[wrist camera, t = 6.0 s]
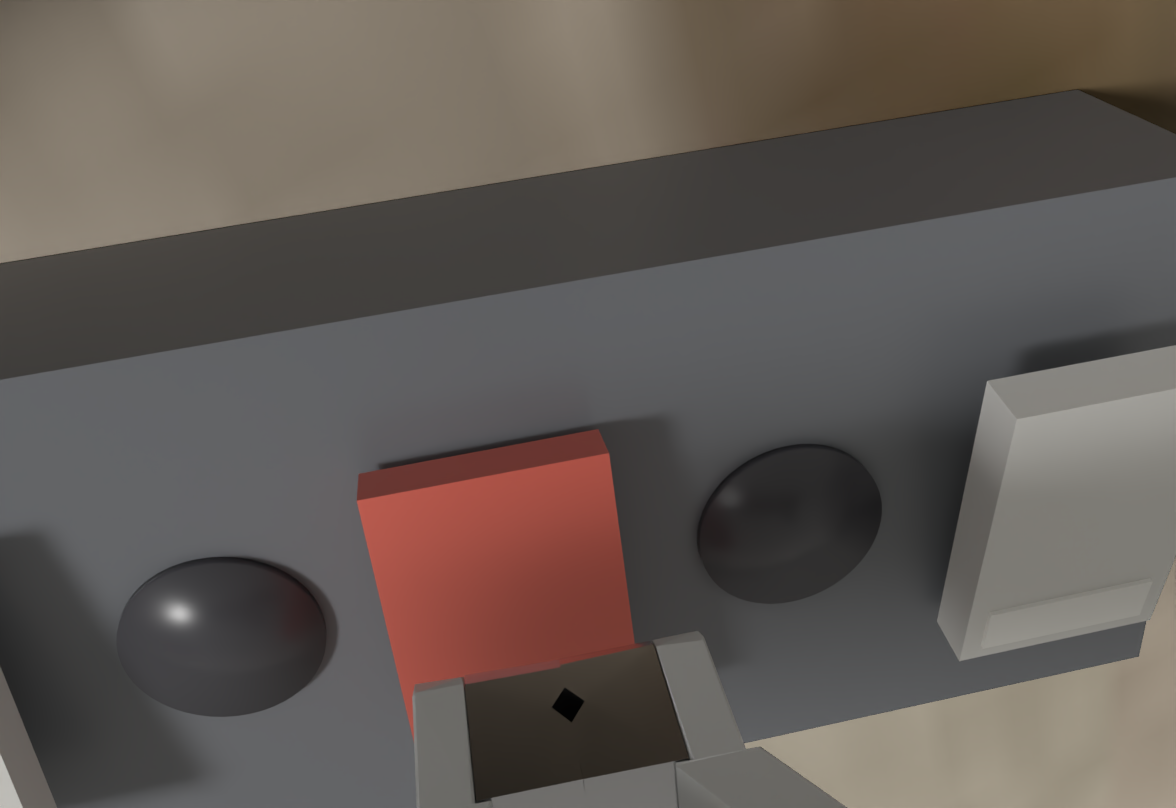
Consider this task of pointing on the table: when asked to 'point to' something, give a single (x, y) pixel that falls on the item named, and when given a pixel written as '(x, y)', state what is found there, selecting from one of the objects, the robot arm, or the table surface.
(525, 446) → the rocker middle
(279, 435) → the strip housing
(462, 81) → the table surface
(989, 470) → the rocker
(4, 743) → the rocker
